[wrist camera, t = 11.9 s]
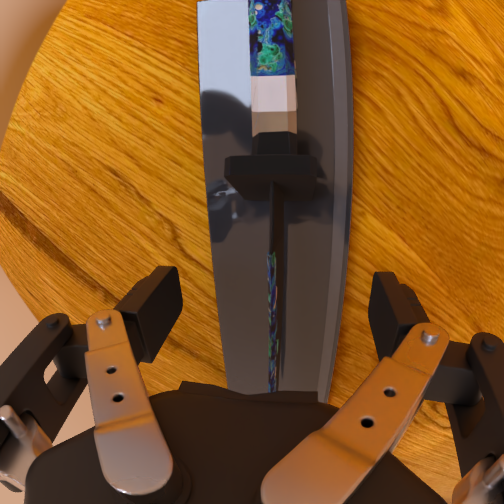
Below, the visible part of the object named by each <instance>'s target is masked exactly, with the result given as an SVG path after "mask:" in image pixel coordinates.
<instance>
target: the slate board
mask: <svg viewBox="0 0 504 504" xmlns="http://www.w3.org/2000/svg"><path fill="white" fill-rule="evenodd" d="M291 11H292V26H293V43H294V60H295V64H296V69H295V70H296V75H297V78H296V79H295V86H296V93H297V104H298V108H297V109H296V118H297V155H311V156H313V157H316V158H317V179H316V184H315V189H314V193H313V198H312V200H310V201H284V279H283V308H282V331H281V351H280V369H279V386H278V391H283V390H285V391H318V401H319V402H323V403H326V404H327V403H328V398H329V393H330V388H331V382H332V377H333V371H334V365H335V359H336V353H337V346H338V340H339V333H340V326H341V318H342V311H343V303H344V294H345V285H346V276H347V266H348V255H349V243H350V229H351V213H352V193H353V160H354V112H353V80H352V61H351V47H350V34H349V23H348V14H347V5H346V0H291ZM197 41H198V69H199V92H200V111H201V128H202V144H203V159H204V172H205V185H206V198H207V209H208V221H209V232H210V242H211V252H212V262H213V272H214V281H215V290H216V299H217V308H218V316H219V324H220V333H221V340H222V348H223V356H224V363H225V371H226V378H227V385H228V390H231V391H235V392H238V393H241V394H245V395H252V394H260V393H268V376H269V300H268V268H267V253H268V252H269V230H270V201H250V200H244V199H243V197H242V196H241V195H240V194H239V193H238V192H237V191H236V190H235V189H234V187H233V186H232V185H231V184H230V183H229V182H228V181H227V180H226V179H225V178H224V166H225V158H227V157H229V156H239V155H251V152H252V138H253V136H252V105H251V76H250V46H249V18H248V0H204V1H198V2H197Z"/></svg>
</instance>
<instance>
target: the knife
mask: <svg viewBox="0 0 504 504" xmlns="http://www.w3.org/2000/svg"><path fill="white" fill-rule="evenodd" d="M248 18H249V46H250V76H251V105H252V136H253V138H252V152H251V155H239V156H229V157H227V158H225V166H224V178H225V179H226V180H227V181H228V182H229V183H230V184H231V185H232V186H233V187H234V189H235V190H236V191H237V192H238V193H239V194H240V195H241V196H242V197H243V199H244V200H250V201H270V230H269V252H268V253H267V268H268V300H269V376H268V392H276V391H278V386H279V369H280V351H281V331H282V308H283V279H284V201H310V200H312V198H313V193H314V189H315V184H316V179H317V158H316V157H313V156H311V155H297V118H296V109H297V108H298V104H297V93H296V86H295V79H296V78H297V75H296V70H295V69H296V64H295V60H294V43H293V26H292V11H291V0H248Z"/></svg>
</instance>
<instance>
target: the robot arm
mask: <svg viewBox="0 0 504 504" xmlns="http://www.w3.org/2000/svg"><path fill="white" fill-rule="evenodd" d="M182 306H183V299H182V293H181V287H180V281H179V274H178V270H177V268H176V267H175V266H157V267H156V269H155V270H154V271H153V272H152V273H151V274H150V275H149V276H147V277H145V278H143V279H142V280H140V281H138V282H137V283H136V284H135V285H134V286H133V287H132V290H130V291H129V292H128V293H127V295H125V296H124V297H123V299H122V300H121V301H120V302H119V303H118V304H117V305H116V306H115V308H114V309H113V310H112V309H108V310H102V311H99V312H96V313H95V314H93V315H91V316H90V317H89V318H88V320H87V322H86V324H78V325H71V323H70V320H69V317H68V316H67V315H66V314H63V313H56V314H52V315H49V316H47V317H46V318H44V319H43V320H42V321H41V322H40V323H39V324H38V325H37V326H36V327H35V328H34V329H33V330H32V331H31V332H30V333H29V334H28V335H27V337H26V338H25V339H24V340H23V341H22V342H21V343H20V344H19V345H18V346H17V348H16V349H15V350H14V351H13V352H12V353H11V354H10V355H9V357H8V358H7V359H6V360H5V361H4V362H3V364H2V365H1V366H0V482H1V483H2V484H3V485H5V486H6V487H7V488H8V489H9V490H11V491H13V492H22V491H24V492H25V499H24V504H447V503H446V501H445V500H444V499H443V498H442V497H441V496H440V495H439V494H437V493H436V492H435V491H434V490H433V489H431V488H430V487H429V486H428V485H427V484H426V483H424V482H423V481H422V480H421V479H420V478H419V477H418V476H416V475H415V474H414V473H413V472H412V471H411V470H410V469H408V468H407V467H406V466H405V465H404V464H403V463H402V462H401V461H399V460H398V459H397V458H396V457H395V456H394V455H393V454H392V453H393V451H394V450H395V448H396V447H397V445H398V443H399V442H400V440H401V438H402V437H403V435H404V434H405V432H406V430H407V429H408V427H409V425H410V424H411V422H412V421H413V419H414V417H415V415H416V414H417V412H418V410H419V409H420V407H421V405H422V403H423V401H424V399H425V400H431V401H437V402H444V403H445V406H446V409H447V413H448V417H449V421H450V425H451V429H452V433H453V437H454V442H455V446H456V451H457V456H458V461H459V466H460V471H461V477H462V479H461V480H460V481H459V482H458V483H457V485H456V486H455V488H454V490H453V494H452V504H504V343H503V341H502V340H501V339H500V338H498V337H497V336H495V335H493V334H490V333H485V332H481V333H477V334H475V335H474V336H473V337H472V339H471V342H470V344H466V343H459V342H454V341H450V340H449V335H448V333H447V332H446V331H445V330H444V329H443V328H442V327H440V326H438V325H435V324H432V323H431V322H430V321H429V319H428V317H427V315H426V313H425V311H424V309H423V307H422V306H421V304H420V302H419V300H417V296H416V294H415V293H414V291H413V290H412V289H411V288H409V287H408V286H407V285H406V284H399V282H398V280H397V278H396V276H395V274H394V272H375V273H374V276H373V282H372V288H371V295H370V301H369V308H368V318H369V323H370V327H371V330H372V334H373V338H374V342H375V346H376V350H377V354H378V358H379V362H380V363H379V364H378V365H377V366H376V368H375V369H374V370H373V371H372V372H371V374H370V375H369V376H368V377H367V378H366V380H365V381H364V382H363V383H362V384H361V386H360V387H359V388H358V389H357V390H356V391H355V393H354V394H353V395H352V396H351V397H350V398H349V399H348V400H347V402H346V403H345V404H344V405H343V406H342V407H341V408H340V409H339V408H337V407H335V406H332V405H330V404H326V403H323V402H319V401H318V391H285V390H283V391H276V392H268V393H260V394H252V395H245V394H241V393H238V392H235V391H231V390H228V389H225V388H222V387H219V386H216V385H211V384H203V383H195V382H188V381H182V383H181V385H180V387H179V390H172V391H166V392H162V393H158V394H155V395H152V396H150V397H149V395H148V392H147V390H146V387H145V384H144V381H143V379H142V376H141V373H140V370H139V367H138V365H139V363H140V362H145V363H151V364H152V362H153V361H154V359H155V357H156V355H157V354H158V352H159V350H160V348H161V347H162V345H163V343H164V341H165V340H166V338H167V336H168V334H169V333H170V331H171V329H172V327H173V326H174V324H175V322H176V320H177V319H178V317H179V315H180V314H181V311H182ZM52 360H53V362H54V364H55V365H56V367H57V371H56V372H55V374H54V375H53V376H52V378H51V379H50V381H49V382H48V383H47V385H46V383H45V381H44V371H45V369H46V368H47V366H48V365H49V364H50V362H51V361H52ZM87 384H88V386H89V392H90V398H91V404H92V410H93V415H94V421H95V426H94V427H92V428H90V429H88V430H86V431H84V432H82V433H80V434H78V435H76V436H74V437H72V438H70V439H68V440H66V441H64V442H62V443H60V444H58V445H56V446H54V447H53V446H52V443H53V441H54V440H55V438H56V436H57V434H58V432H59V431H60V429H61V427H62V426H63V424H64V422H65V420H66V419H67V417H68V415H69V414H70V412H71V410H72V408H73V407H74V405H75V403H76V402H77V400H78V398H79V397H80V395H81V394H82V392H83V390H84V389H85V387H86V385H87ZM482 396H483V397H482ZM483 399H484V400H483Z"/></svg>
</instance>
